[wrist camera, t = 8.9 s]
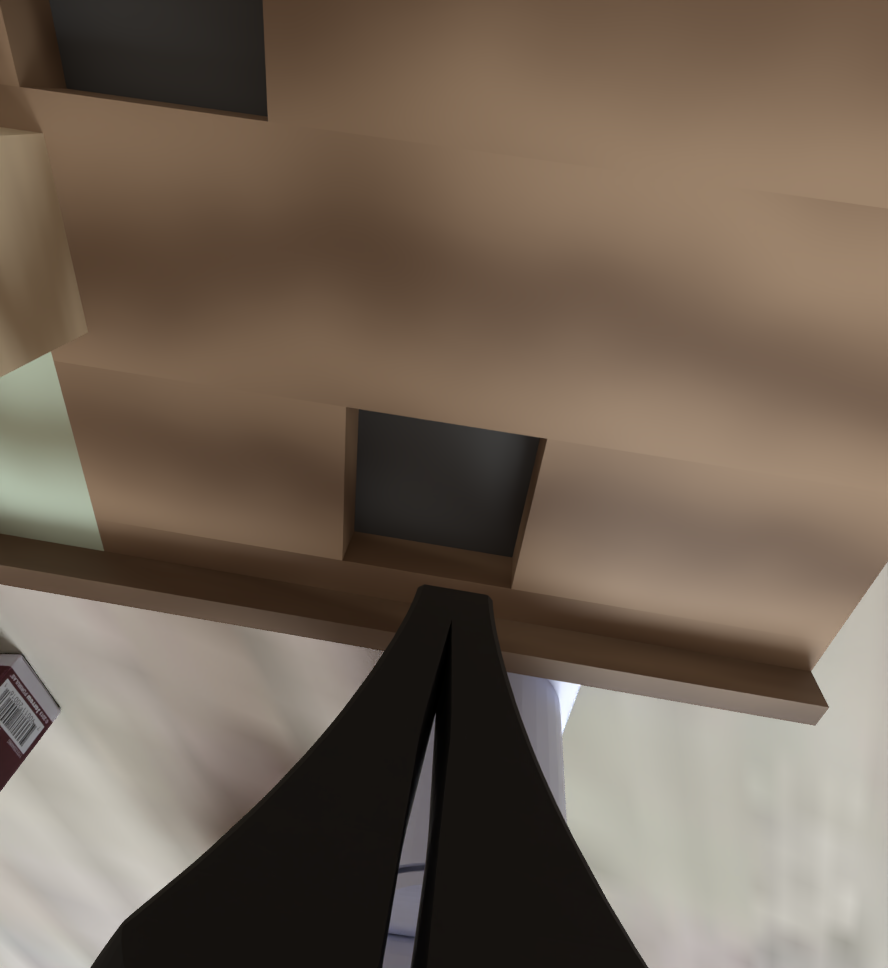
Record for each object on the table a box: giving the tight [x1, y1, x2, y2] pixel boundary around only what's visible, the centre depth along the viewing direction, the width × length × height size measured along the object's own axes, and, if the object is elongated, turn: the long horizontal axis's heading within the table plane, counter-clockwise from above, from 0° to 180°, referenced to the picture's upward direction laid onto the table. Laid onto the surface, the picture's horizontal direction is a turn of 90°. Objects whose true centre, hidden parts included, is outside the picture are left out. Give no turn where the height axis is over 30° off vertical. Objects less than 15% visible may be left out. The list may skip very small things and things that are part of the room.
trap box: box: [0, 0, 888, 725], centre depth 16 cm, size 24×32×4 cm
